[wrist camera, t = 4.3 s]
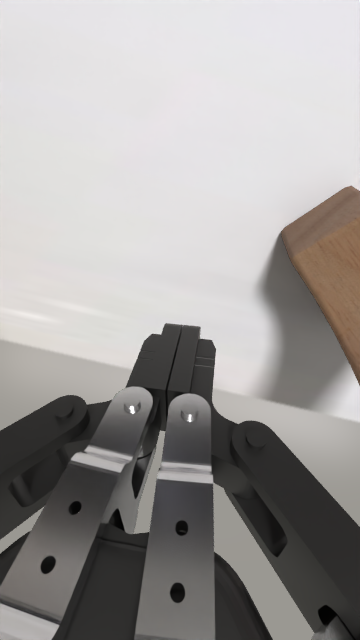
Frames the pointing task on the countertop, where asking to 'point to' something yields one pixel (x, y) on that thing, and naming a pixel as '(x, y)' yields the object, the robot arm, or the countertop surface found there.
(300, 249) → the wooden block
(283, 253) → the countertop surface
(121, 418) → the robot arm
